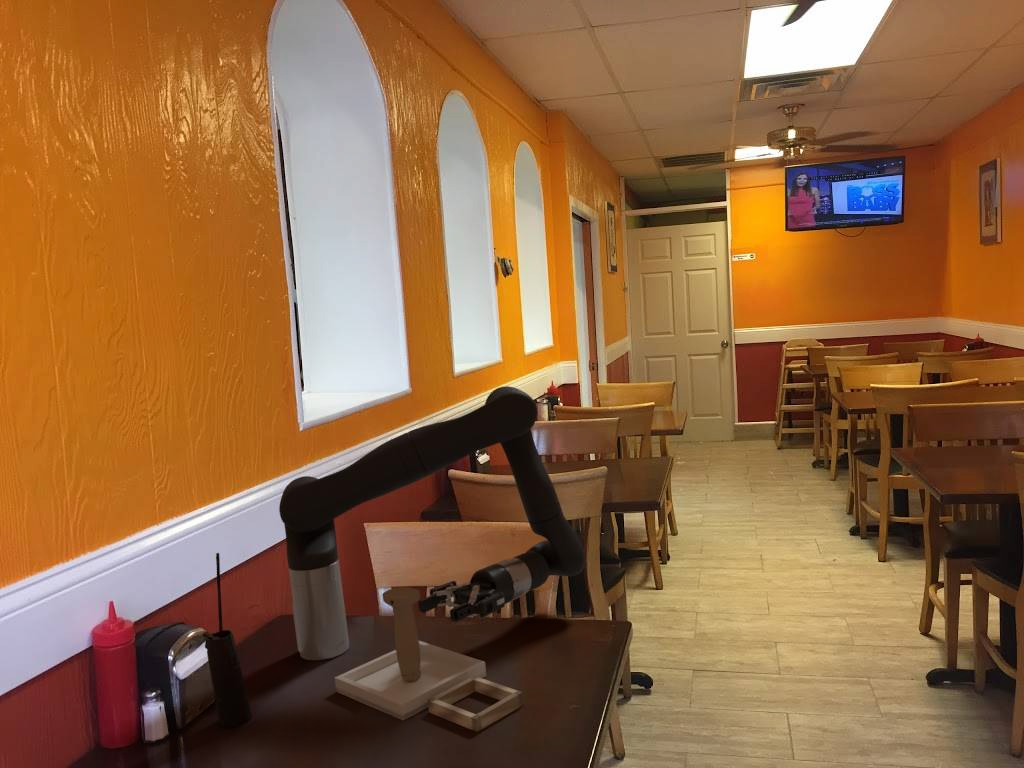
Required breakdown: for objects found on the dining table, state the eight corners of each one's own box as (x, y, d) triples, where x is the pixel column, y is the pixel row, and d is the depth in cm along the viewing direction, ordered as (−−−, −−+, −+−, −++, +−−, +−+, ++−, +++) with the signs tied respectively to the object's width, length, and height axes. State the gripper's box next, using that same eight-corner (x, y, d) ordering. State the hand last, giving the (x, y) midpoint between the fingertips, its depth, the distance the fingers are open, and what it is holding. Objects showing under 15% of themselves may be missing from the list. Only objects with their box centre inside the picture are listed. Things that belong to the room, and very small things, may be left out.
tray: (336, 691, 146) (334, 677, 145) (418, 653, 158) (417, 639, 158) (403, 720, 133) (401, 705, 133) (486, 676, 146) (484, 661, 146)
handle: (417, 687, 142) (406, 599, 141) (387, 681, 146) (376, 595, 144) (435, 675, 146) (424, 589, 145) (406, 670, 150) (395, 586, 148)
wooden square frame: (429, 712, 135) (427, 700, 135) (475, 687, 142) (474, 675, 142) (477, 732, 127) (475, 719, 127) (523, 704, 134) (522, 692, 134)
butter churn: (185, 729, 138) (160, 558, 135) (232, 702, 146) (210, 541, 143) (223, 739, 133) (198, 563, 130) (270, 711, 141) (248, 544, 138)
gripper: (473, 558, 165) (407, 584, 154) (527, 569, 155) (460, 597, 144) (477, 596, 166) (412, 624, 155) (531, 609, 156) (465, 641, 145)
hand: (435, 611), depth 149 cm, fingers open, 8 cm apart
